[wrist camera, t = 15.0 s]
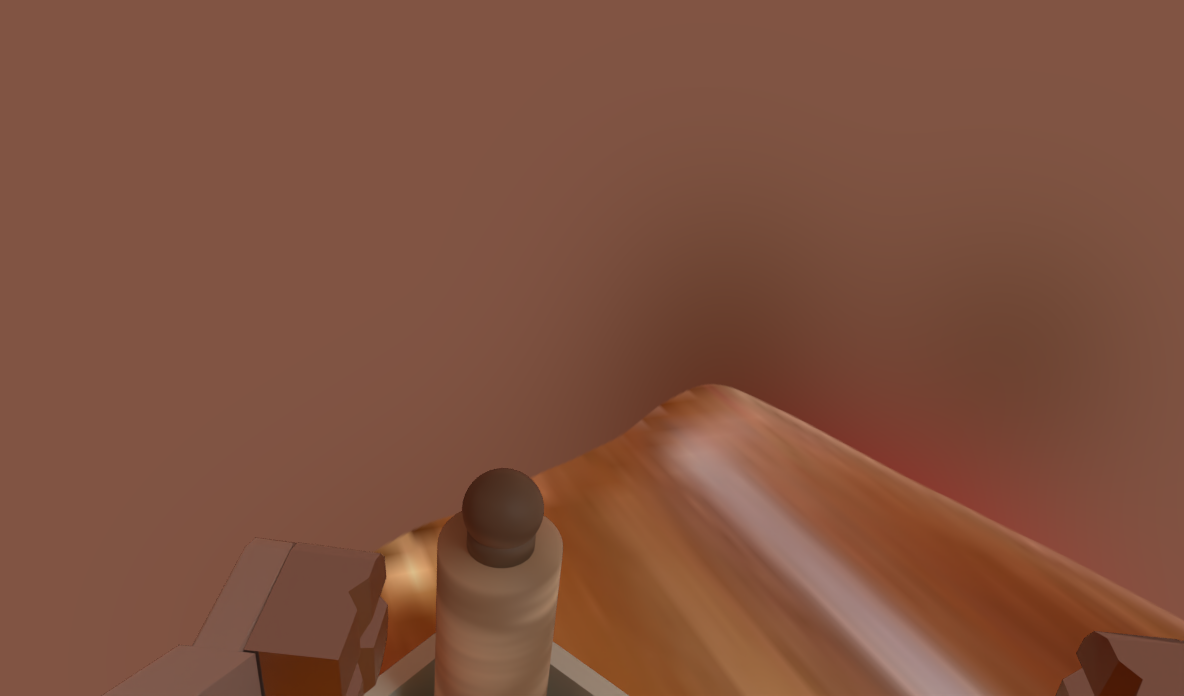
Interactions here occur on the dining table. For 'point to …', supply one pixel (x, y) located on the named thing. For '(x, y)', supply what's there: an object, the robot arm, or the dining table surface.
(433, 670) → the box
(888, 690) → the dining table surface
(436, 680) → the pepper mill
